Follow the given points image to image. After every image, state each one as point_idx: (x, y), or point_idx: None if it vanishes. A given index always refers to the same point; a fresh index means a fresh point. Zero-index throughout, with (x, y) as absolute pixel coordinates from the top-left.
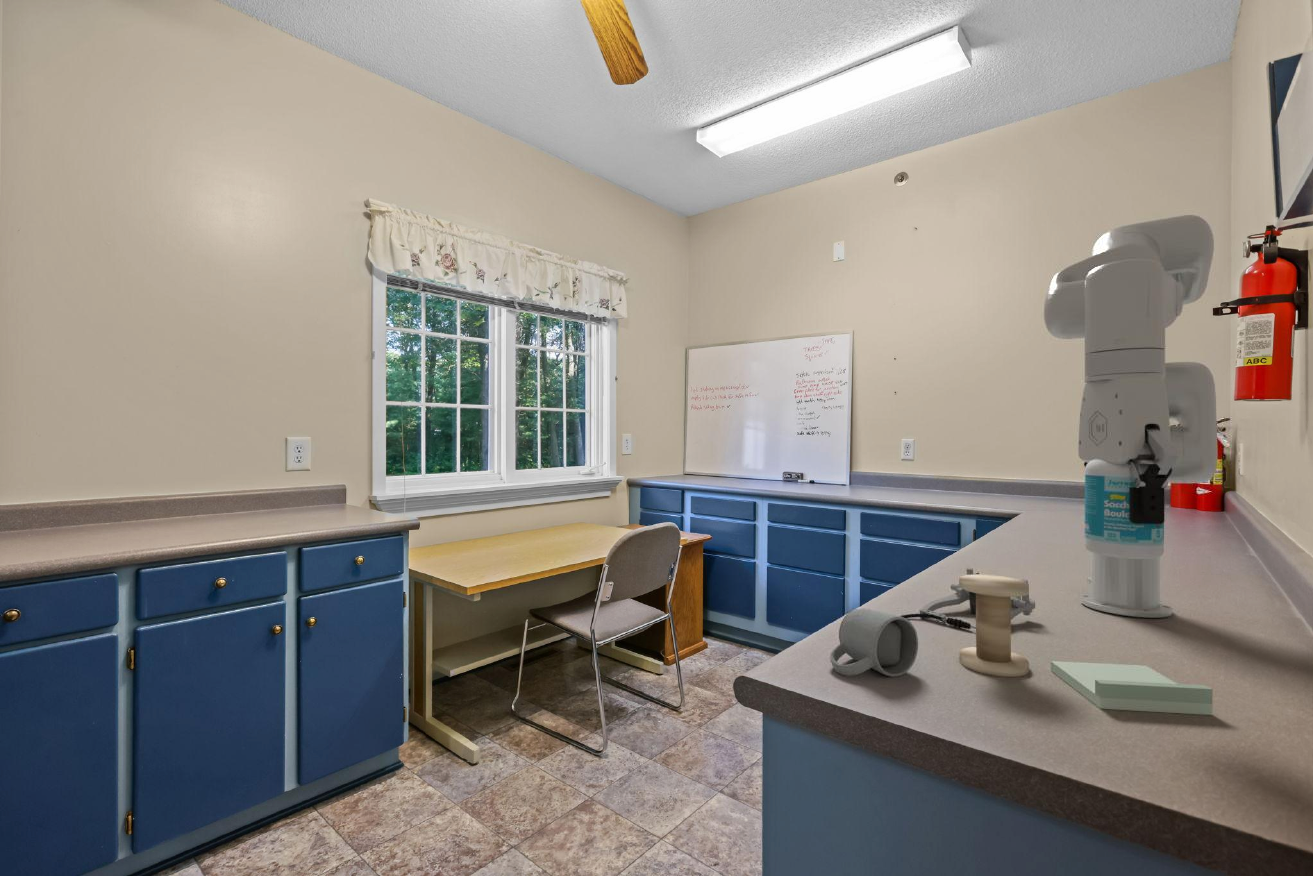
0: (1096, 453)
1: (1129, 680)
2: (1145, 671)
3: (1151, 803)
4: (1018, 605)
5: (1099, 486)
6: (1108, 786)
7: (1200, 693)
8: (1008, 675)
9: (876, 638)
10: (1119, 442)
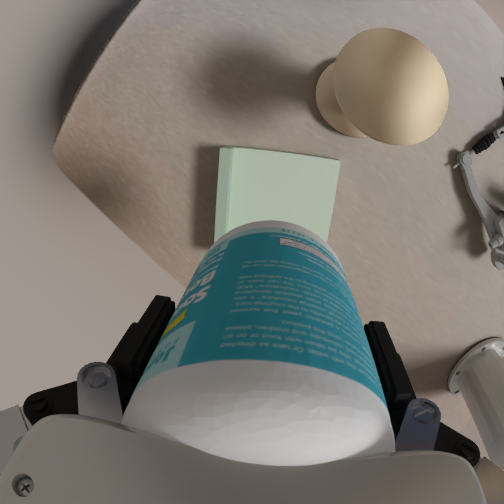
0: (275, 498)
1: (276, 214)
2: None
3: (75, 96)
4: (493, 237)
5: (212, 326)
6: (91, 77)
7: None
8: (315, 92)
9: None
10: (31, 495)
